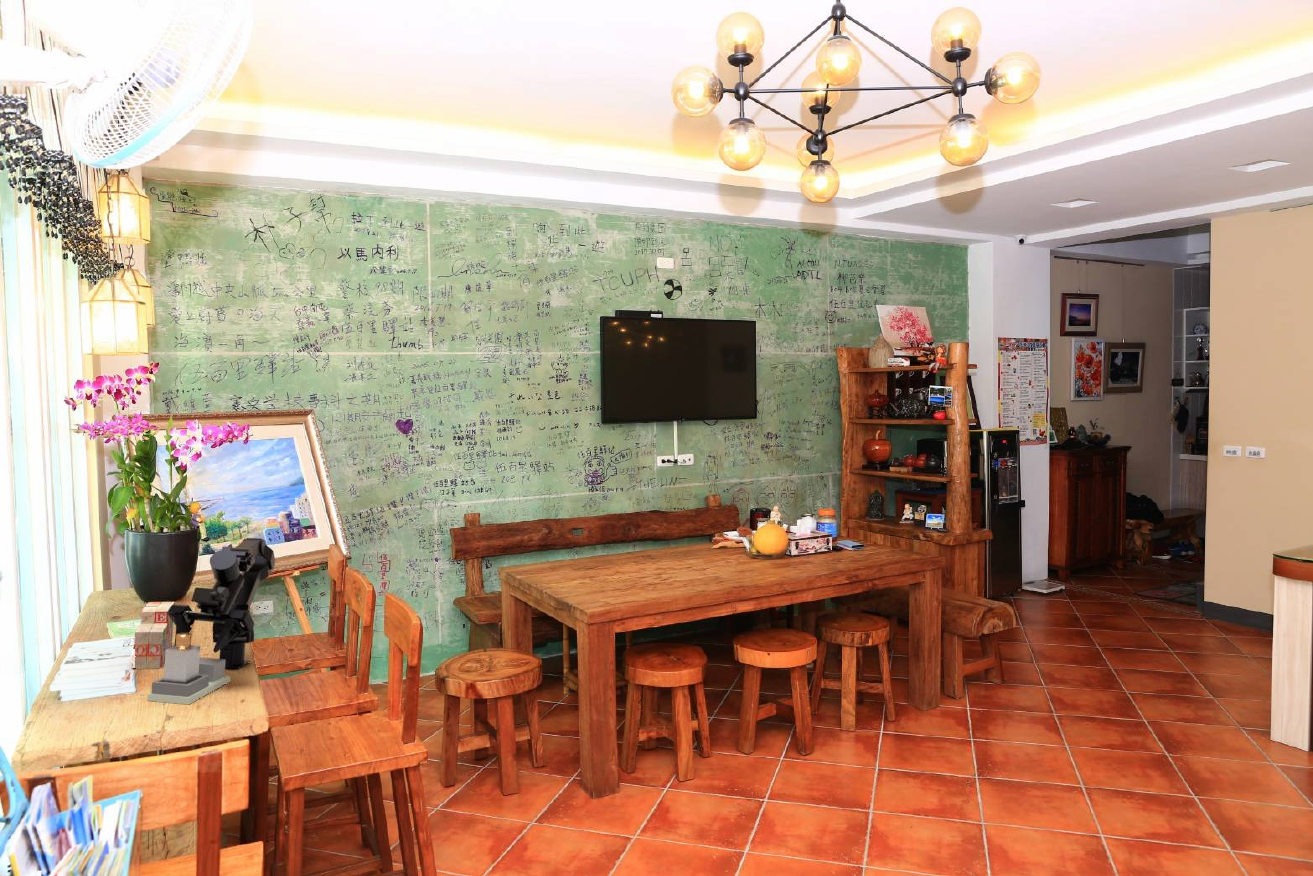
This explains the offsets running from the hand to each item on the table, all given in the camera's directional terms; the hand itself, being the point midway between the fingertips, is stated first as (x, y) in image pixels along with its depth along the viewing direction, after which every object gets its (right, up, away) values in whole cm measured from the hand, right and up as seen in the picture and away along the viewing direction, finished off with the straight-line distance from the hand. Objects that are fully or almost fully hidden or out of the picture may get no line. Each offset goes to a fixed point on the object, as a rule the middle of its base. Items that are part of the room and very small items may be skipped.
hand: (195, 649), depth 203 cm
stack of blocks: (-23, -8, +23) cm, 33 cm away
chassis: (-1, -9, -1) cm, 9 cm away
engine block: (-1, -8, -5) cm, 9 cm away
